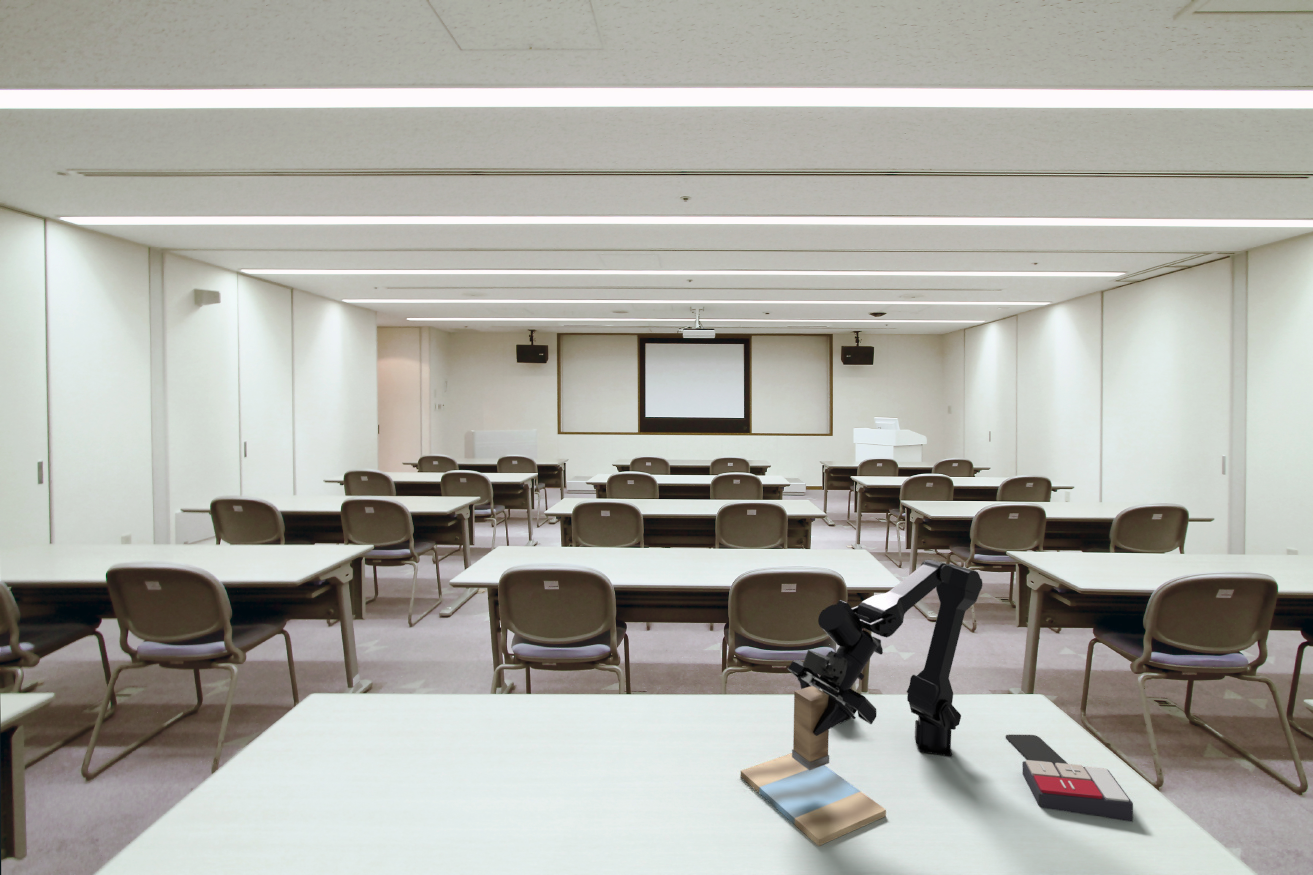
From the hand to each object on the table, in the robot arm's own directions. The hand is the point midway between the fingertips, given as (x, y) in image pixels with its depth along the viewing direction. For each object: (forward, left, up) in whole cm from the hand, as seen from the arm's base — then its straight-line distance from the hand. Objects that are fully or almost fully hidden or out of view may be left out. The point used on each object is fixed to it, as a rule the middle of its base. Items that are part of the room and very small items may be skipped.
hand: (805, 728), depth 119 cm
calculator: (-49, -15, -14) cm, 53 cm away
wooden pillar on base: (-1, -1, -7) cm, 7 cm away
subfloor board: (-1, -1, -13) cm, 13 cm away
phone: (-47, -29, -14) cm, 57 cm away
